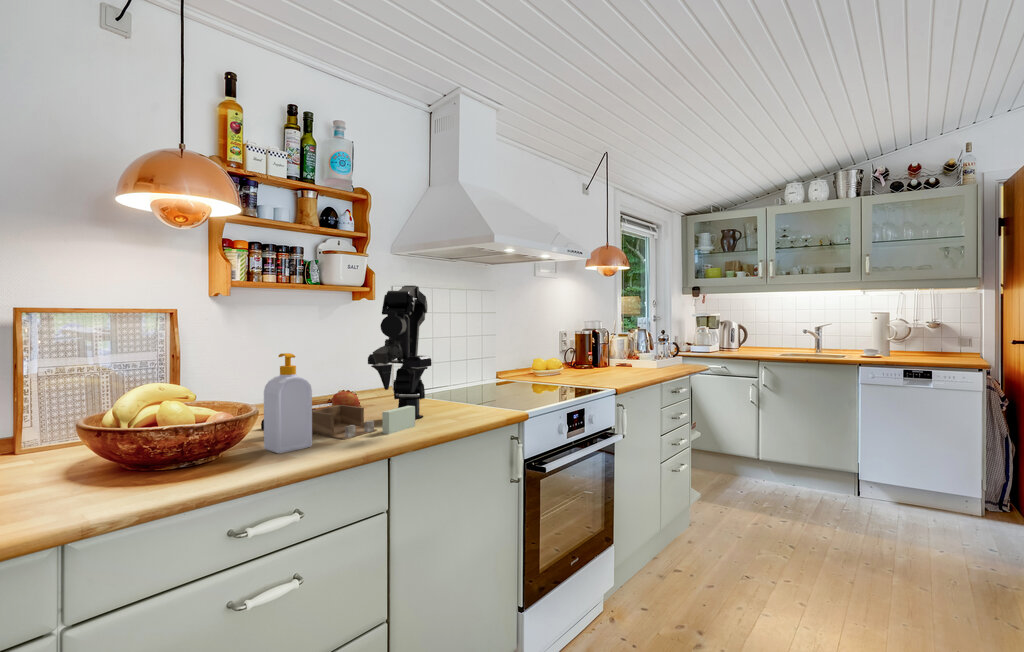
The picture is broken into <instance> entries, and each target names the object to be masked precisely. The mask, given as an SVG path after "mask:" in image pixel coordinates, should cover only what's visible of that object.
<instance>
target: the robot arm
mask: <svg viewBox="0 0 1024 652" xmlns="http://www.w3.org/2000/svg"><path fill="white" fill-rule="evenodd" d="M427 313H428V300H427V297H426V295H425V294H424V293H423V292H422V291H420V287H419V285H418V286H417V285H404V286H403V285H402V286H401V288H400V289H398V290H388V291H387V292H386V294H384V297H383V303H382V308H381V315H383V316H385V317H384V318H383V319H382V320H381V323H380V331H381V332H382V334H383V335H384V336H386V337H388V338H385V340H384V345H383V346H381V347H379V348H377V349H375V350H374V351H372V354H371V353H370V354H369V355H368V357H367V365H370V367H371V368H372V369H375V370H376V371H377V373H378V375H379V377H380V381H381V382H382V386H383V387H384V390H386V391H387V390H389V388H390V383H391V377H392V369H393V364H400V365H401V366H400V368H397V370H396V373H395V374H396V375H395V379H394V380H393V398H394V400H398V404H397V408H401V407H405V406H415V420H417V419H420V418H424V415H423V414H420V400H424V399H426V393H425V391H426V390H425V384H424V382H423V379H422V376H423V374H424V372H425V370H428V368H429V367H431V366H432V358H431V357H430V356H429V355H419V354H418V352H419V350H418V349H419V340H420V339H419V337H420V326H421V325H422V324H423V323H424V321H425V320H426V314H427ZM386 315H387V316H386Z"/></svg>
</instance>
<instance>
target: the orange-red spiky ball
mask: <svg viewBox="0 0 1024 652" xmlns="http://www.w3.org/2000/svg"><path fill="white" fill-rule="evenodd" d="M337 405H347V406H355V407H360V399H359V397H358V396H357V395H356V393H353V392H350V391H339V392H338V391H337V392H336V393H335V394H333V396H332V401H331V407H332V406H337Z"/></svg>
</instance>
